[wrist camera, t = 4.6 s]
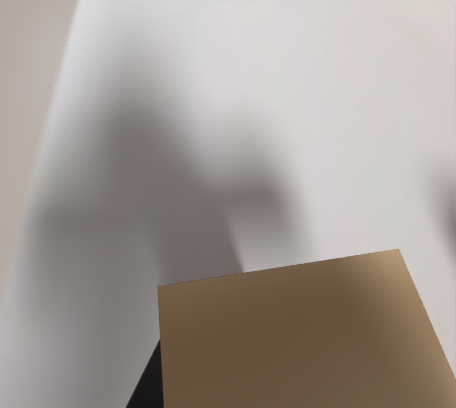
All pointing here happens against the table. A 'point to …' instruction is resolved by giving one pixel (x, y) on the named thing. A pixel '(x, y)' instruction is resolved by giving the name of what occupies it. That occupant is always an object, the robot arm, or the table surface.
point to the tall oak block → (303, 339)
